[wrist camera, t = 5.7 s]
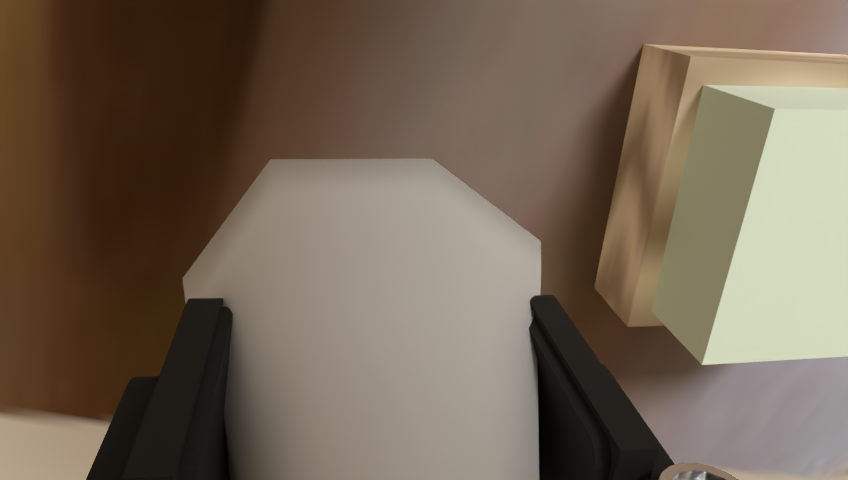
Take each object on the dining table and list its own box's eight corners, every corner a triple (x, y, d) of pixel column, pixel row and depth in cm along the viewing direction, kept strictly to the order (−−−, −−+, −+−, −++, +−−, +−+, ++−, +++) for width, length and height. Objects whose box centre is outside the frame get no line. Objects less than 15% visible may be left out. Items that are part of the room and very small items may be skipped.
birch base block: (639, 42, 29) (690, 56, 25) (873, 55, 32) (954, 69, 28) (590, 283, 35) (627, 326, 31) (794, 279, 37) (853, 319, 33)
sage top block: (703, 84, 26) (775, 108, 22) (926, 89, 28) (1030, 112, 24) (650, 310, 30) (701, 365, 26) (845, 302, 32) (921, 351, 28)
